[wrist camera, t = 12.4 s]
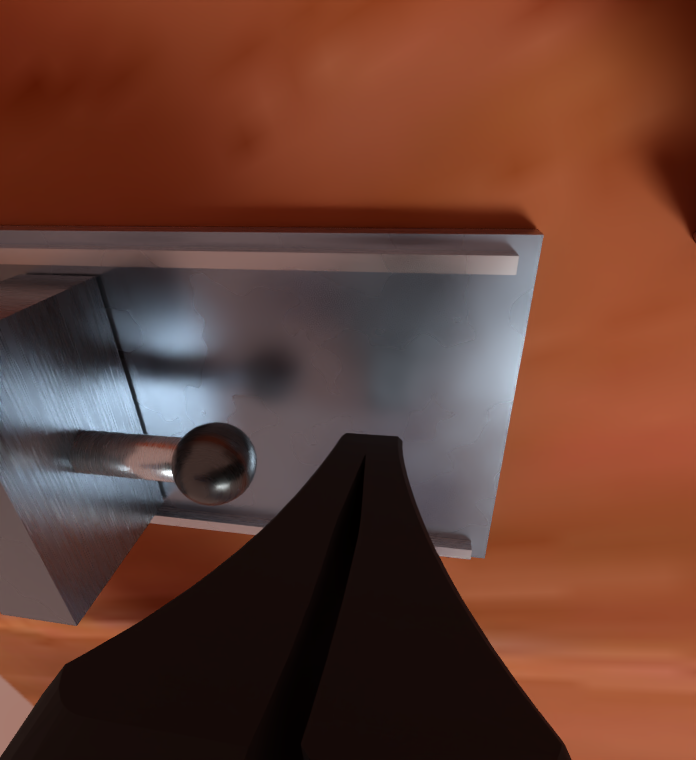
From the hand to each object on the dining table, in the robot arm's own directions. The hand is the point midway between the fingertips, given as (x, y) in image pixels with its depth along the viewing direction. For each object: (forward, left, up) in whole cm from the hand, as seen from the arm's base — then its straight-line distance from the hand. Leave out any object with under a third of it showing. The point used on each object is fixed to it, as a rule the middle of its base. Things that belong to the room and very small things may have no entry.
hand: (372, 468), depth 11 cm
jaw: (0, +6, -2) cm, 7 cm away
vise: (0, +7, -3) cm, 7 cm away
